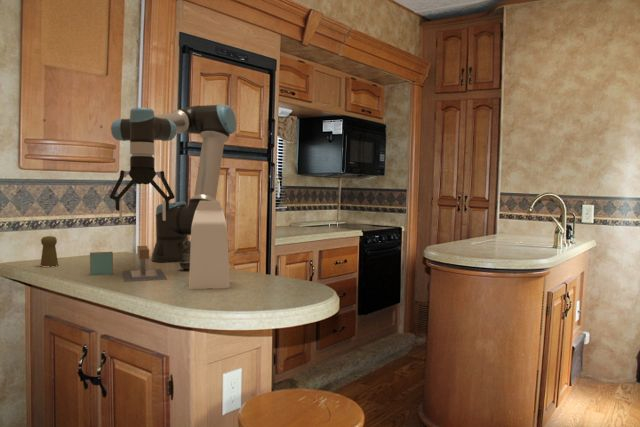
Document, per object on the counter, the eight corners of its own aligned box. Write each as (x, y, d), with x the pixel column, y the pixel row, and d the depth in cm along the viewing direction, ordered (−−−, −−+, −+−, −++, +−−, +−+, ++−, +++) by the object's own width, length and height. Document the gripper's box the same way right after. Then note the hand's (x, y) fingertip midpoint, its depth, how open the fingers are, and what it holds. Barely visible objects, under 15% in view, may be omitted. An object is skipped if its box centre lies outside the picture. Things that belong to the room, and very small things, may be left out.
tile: (112, 275, 184) (112, 251, 184) (113, 275, 183) (112, 252, 182) (90, 276, 182) (90, 252, 181) (90, 277, 180) (89, 252, 180)
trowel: (129, 271, 187) (129, 246, 187) (154, 270, 190) (154, 245, 190) (132, 279, 174) (131, 251, 173) (158, 277, 176) (158, 250, 176)
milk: (188, 289, 162) (188, 201, 160) (190, 282, 173) (190, 200, 172) (229, 288, 164) (229, 201, 163) (228, 281, 175) (228, 200, 174)
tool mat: (160, 270, 194) (160, 268, 194) (167, 281, 174) (167, 279, 174) (121, 272, 189) (121, 270, 189) (124, 283, 169) (124, 281, 169)
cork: (53, 267, 199) (52, 237, 198) (36, 267, 199) (36, 237, 198) (61, 264, 205) (61, 235, 204) (45, 264, 205) (45, 235, 204)
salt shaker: (198, 270, 195) (197, 237, 195) (192, 273, 189) (192, 238, 189) (182, 270, 196) (181, 236, 195) (176, 272, 190) (175, 238, 189)
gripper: (179, 157, 187) (180, 219, 188) (101, 155, 178) (102, 220, 179) (182, 156, 180) (182, 220, 181) (101, 154, 171) (101, 221, 172)
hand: (142, 220), depth 180 cm, fingers open, 13 cm apart
